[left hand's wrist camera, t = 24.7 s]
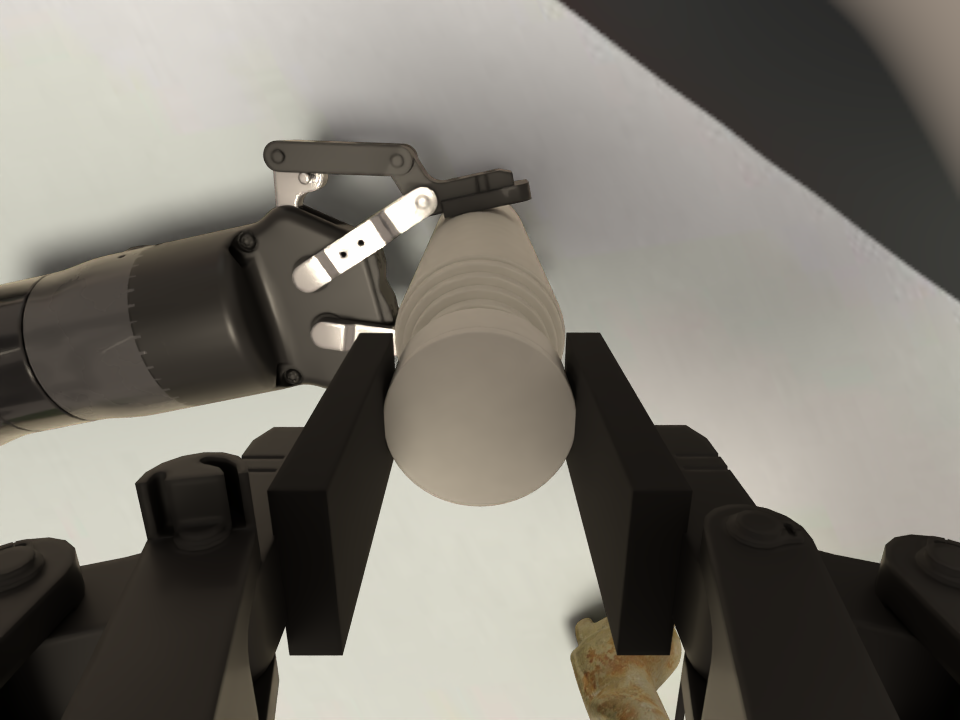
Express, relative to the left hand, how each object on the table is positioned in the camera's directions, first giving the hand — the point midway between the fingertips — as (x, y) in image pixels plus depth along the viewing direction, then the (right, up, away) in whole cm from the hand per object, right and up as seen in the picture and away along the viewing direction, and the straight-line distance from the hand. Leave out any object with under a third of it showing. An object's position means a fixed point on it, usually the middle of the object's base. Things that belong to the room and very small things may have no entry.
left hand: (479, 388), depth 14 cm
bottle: (0, +7, +19) cm, 21 cm away
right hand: (+3, +5, +13) cm, 14 cm away
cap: (0, -1, -1) cm, 1 cm away
